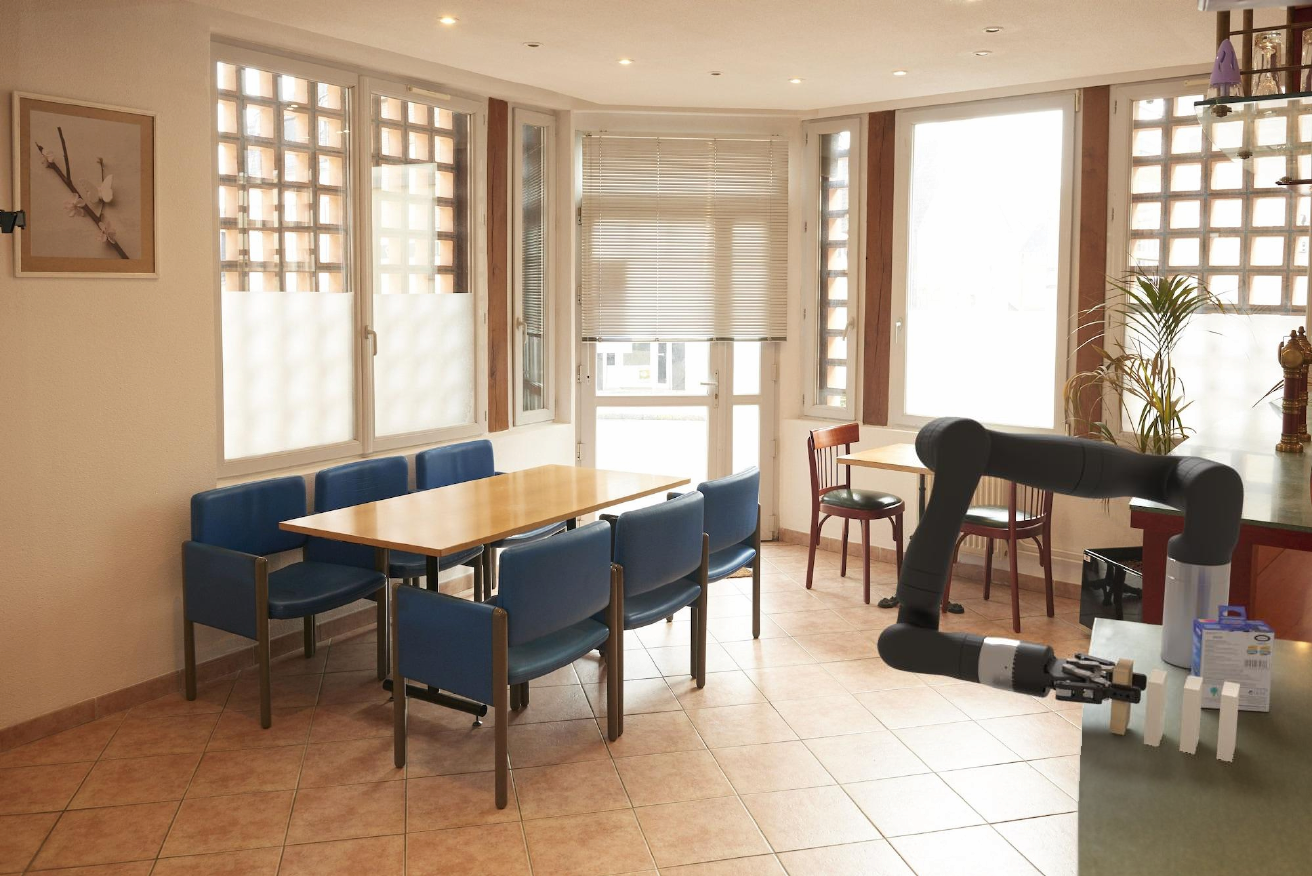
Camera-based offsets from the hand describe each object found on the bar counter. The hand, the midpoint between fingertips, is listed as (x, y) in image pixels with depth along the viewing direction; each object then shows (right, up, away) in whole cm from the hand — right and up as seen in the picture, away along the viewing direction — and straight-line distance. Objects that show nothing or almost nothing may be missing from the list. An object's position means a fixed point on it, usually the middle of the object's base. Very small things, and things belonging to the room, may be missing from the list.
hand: (1142, 689), depth 147 cm
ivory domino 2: (+5, -7, -2) cm, 9 cm away
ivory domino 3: (+9, -7, -4) cm, 13 cm away
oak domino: (-2, -6, +2) cm, 7 cm away
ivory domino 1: (+2, -7, 0) cm, 7 cm away
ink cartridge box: (+18, -5, +11) cm, 21 cm away
